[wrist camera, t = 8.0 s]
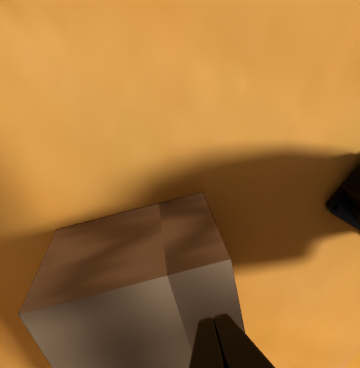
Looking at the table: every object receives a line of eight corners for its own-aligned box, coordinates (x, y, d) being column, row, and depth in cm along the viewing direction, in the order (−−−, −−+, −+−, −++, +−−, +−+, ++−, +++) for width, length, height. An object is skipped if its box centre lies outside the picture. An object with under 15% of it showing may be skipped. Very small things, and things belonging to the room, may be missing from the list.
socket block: (202, 191, 20) (230, 259, 14) (233, 332, 26) (262, 423, 20) (54, 230, 20) (14, 315, 14) (118, 362, 26) (112, 463, 20)
